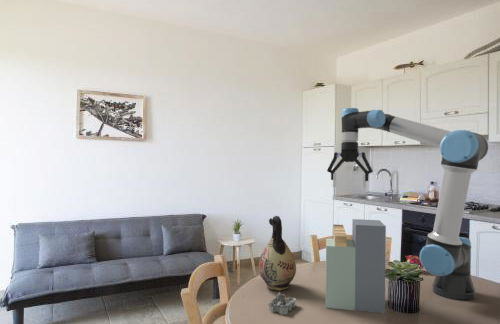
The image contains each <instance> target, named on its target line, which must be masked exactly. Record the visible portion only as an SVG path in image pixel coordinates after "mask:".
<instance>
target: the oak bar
mask: <svg viewBox="0 0 500 324" xmlns="http://www.w3.org/2000/svg"><path fill="white" fill-rule="evenodd" d="M332 230H333V231H332V232H333V233H332V234H333V239H334V243H335V246H336V247H347V239H348V237H347V236H348V235H347V233H346V230H345V227H344V224H335V223H334V224H333V226H332Z"/></svg>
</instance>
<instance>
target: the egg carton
mask: <svg viewBox="0 0 500 324" xmlns="http://www.w3.org/2000/svg"><path fill="white" fill-rule="evenodd" d="M296 299H297V298H295V297H291V296H288V297H286V294H284V293H281V291H279V292H278V293H276V295H275V297H273V299H271V300H270V301H269V303H267V305H268V307H269V309H268V311H270V313H279V315H288V313H289V311H290V312H291V311H292V309H293V308H296Z"/></svg>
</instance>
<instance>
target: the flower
mask: <svg viewBox="0 0 500 324" xmlns="http://www.w3.org/2000/svg"><path fill="white" fill-rule="evenodd" d="M405 258H406V262H410V263H414V264H418V265H420V267H419V269H420V270H422V269H424V267H423V266H422V264H421V262H420V256H418V255H410V254H408V255H405Z"/></svg>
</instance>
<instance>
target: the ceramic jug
mask: <svg viewBox="0 0 500 324" xmlns="http://www.w3.org/2000/svg"><path fill="white" fill-rule="evenodd" d="M268 222H269V223H268V224H269V225H270V226H271V227H272V234H271V237H270V239H269V241H268V242H267V244H266V245H265V247H264V249H263V251H262V253H261V255H260V257H259V263H258V271H259V274H260V275H259V276H260V277H261V279H262V280H263V281H264V282H265V284H266V286H267V288H268V289H270V290H274V291H283V290H287V289H289V288H290V284H291V283H292V281H293V280H294V278H295V276H296V273H297V266H296V261H295V260H296V259H295V257H294V255H293V253H292V250H291V249H290V248H289V246H288V245H287V243H286V242H285V240H284V239H283V226H282V225H283V224H282V220H281V217H280V216H278V215H274V216H273V217H272V218H271V217H270V218H269V219H268Z"/></svg>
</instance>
